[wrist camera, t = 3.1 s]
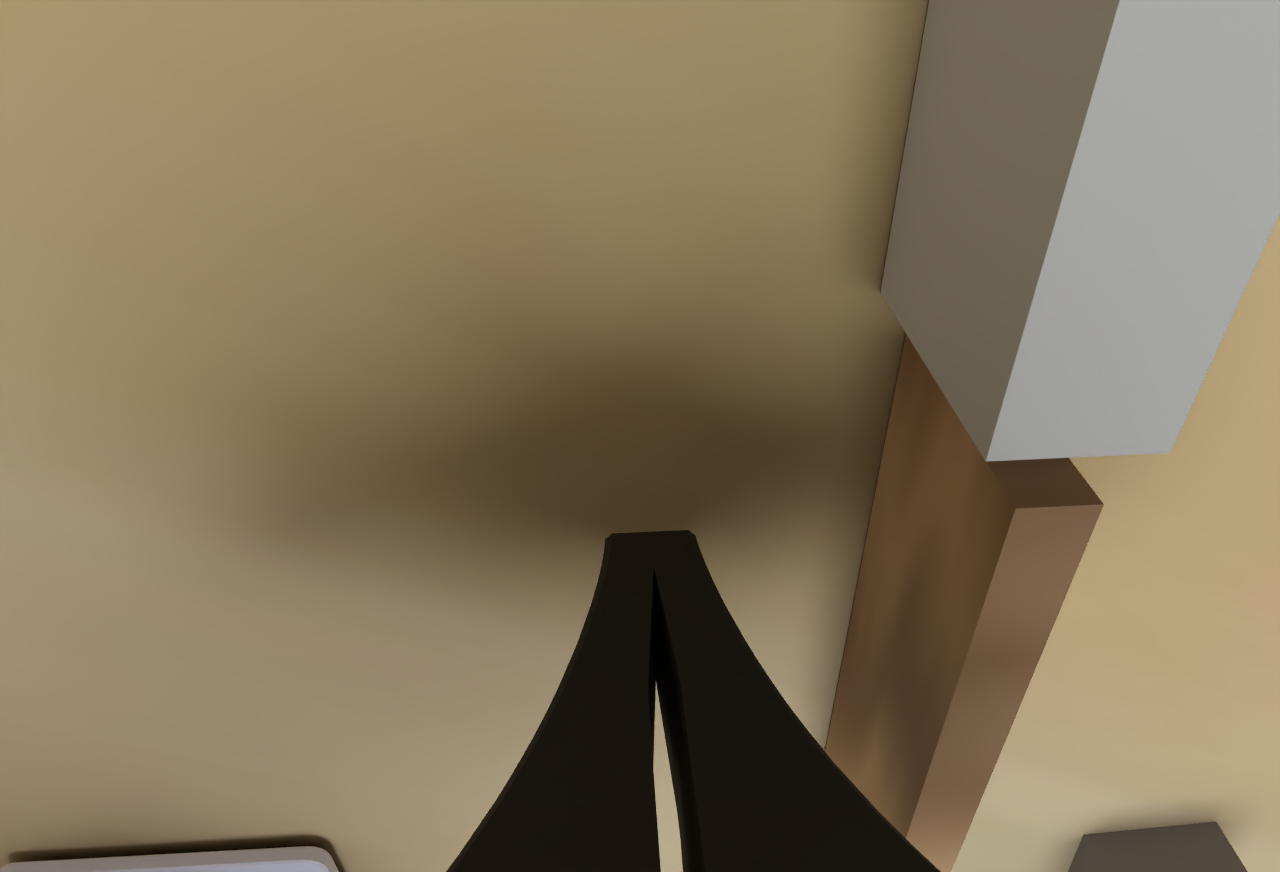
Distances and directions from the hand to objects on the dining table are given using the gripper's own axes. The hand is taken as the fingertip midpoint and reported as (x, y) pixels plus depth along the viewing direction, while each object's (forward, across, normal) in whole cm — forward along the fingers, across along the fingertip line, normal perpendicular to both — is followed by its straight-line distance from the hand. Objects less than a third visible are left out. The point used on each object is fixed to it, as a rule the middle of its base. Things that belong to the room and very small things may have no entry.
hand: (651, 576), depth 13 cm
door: (+1, -5, +2) cm, 6 cm away
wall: (+1, -5, +3) cm, 6 cm away
